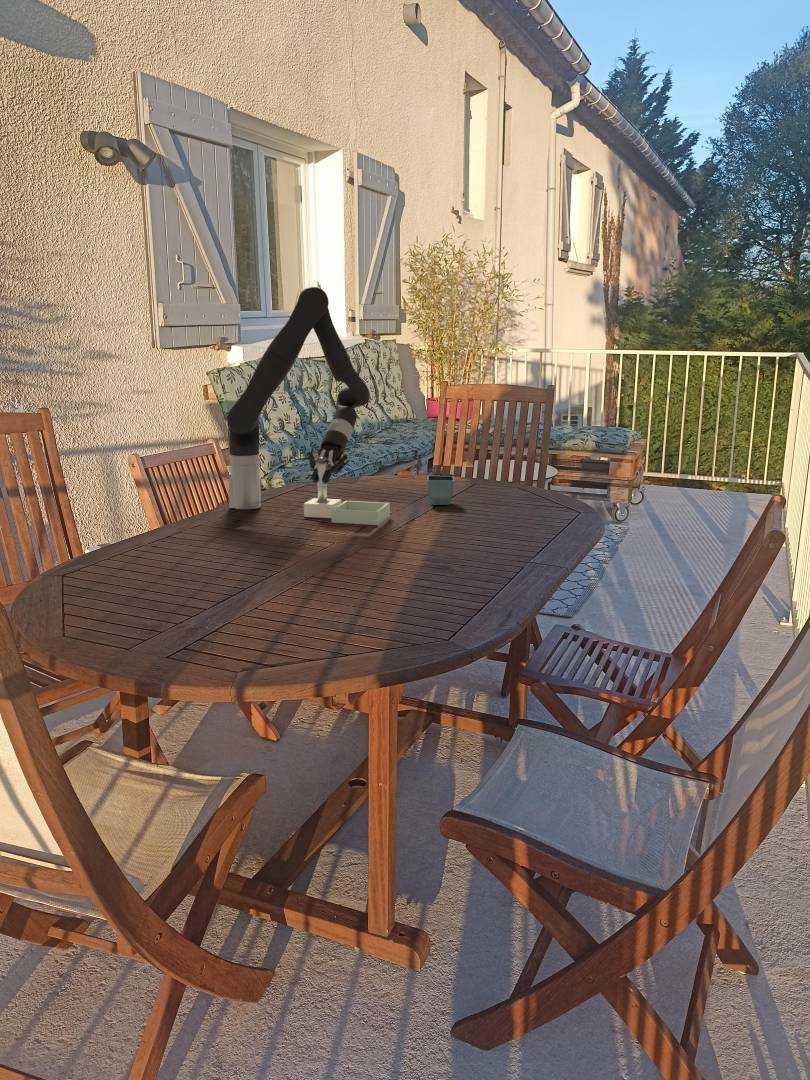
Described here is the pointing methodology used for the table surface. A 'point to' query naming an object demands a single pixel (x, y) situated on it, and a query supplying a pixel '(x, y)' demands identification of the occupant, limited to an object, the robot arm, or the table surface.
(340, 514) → the tray
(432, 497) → the flower pot
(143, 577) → the table surface
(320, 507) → the socket block
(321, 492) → the steel pin
